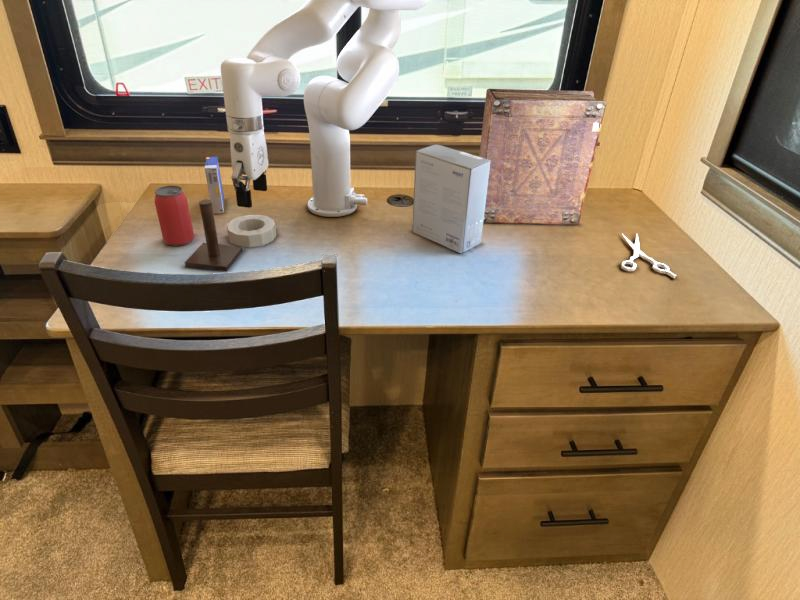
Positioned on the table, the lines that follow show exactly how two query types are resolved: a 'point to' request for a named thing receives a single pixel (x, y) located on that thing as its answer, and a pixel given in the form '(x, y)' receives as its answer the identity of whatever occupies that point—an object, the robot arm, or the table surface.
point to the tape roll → (243, 227)
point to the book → (539, 154)
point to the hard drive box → (450, 196)
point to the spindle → (212, 245)
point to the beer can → (174, 215)
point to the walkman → (214, 184)
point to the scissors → (641, 254)
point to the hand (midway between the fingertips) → (252, 198)
